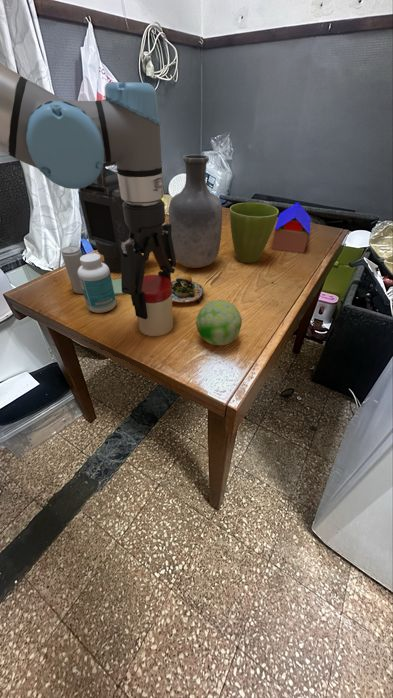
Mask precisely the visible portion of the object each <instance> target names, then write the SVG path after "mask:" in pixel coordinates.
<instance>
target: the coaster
mask: <svg viewBox="0 0 393 698" xmlns="http://www.w3.org/2000/svg"><path fill="white" fill-rule="evenodd" d="M111 280H112V284H113V289H114V294H115V296H120V295H125V294H126V293H123V292H122V285H121V278H116V279H115V278H114V279H111ZM126 295H127V294H126Z"/></svg>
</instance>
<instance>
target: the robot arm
mask: <svg viewBox="0 0 393 698" xmlns="http://www.w3.org/2000/svg"><path fill="white" fill-rule="evenodd" d="M161 143H162V141H161V121H160V114H159V103H158V95H157V91H156V89H155V87H154V86H153V85H152V84H151V83H149V82H135V81H133V82H130V81H129V82H127V81H126V82H125V81H124V82H123V81H122V82H121V81H118V82H117V81H109V82H107V83H106V84H105V86H104V99H100V100H71V99H63V98H62V97H59V96H57V94H54V93H53V92H50V91H49V90H47V89H46V88H43V87H42V86H40V85H38V84H37V83H35V82H33V81H31V80H29V79H27V78H26V77H24V76H22V75H21V74H20V73H18V72H16V71H14V70H13V69H11V68H9V67H7V66H6V65H4V64H2V63H0V152H1V153H3V154H6V155H8V156H10V157H12V158H14V159H16V160H18V161H20V162H22V163H25V164H27V165H29V166H31V167H33V168H35V169H38V171H39V172H40V173H41V174H42V175H43V176H44V177H45V178H47V179H48V180H49V181H51V182H52V183H54V184H55V185H56V186H60V187H61V188H65V189H69V190H78V189H79V190H80V188H84V187H86V186H88V185H90V184H92V183H93V182H94V181H95V180H96V179H97V178H98V176H99V174H100V173H101V170H102V168H103V163H104V162H106V163H108V162H116V165H115V166H116V172H117V173H116V174H118V180H119V187H120V194H121V199H123V200H124V202H123V204H122V206H123V213H124V220H125V223H126V224H127V226H128V227H129V229H130V234H129V239H128V240H127V241H126V242H121V241H120V242H119V243H118V247H119V251H120V254H121V272H120V279H121V285H122V292H123V293H126V295H129V296H130V297H131V298H130V299H131V304H132V306H133V307H134V312H135V313H134V314H135V317H136V318H137V317H140V318H143V319H145V320H146V319H147V318H148V316H147V309H146V301H145V293H144V292H143V291H141V290H142V284H143V278H144V276H145V272H146V265H147V261H149V260H150V254H151V253H152V255H153V256H154V259H155V261H156V263H157V265H158V267H159V269H160V270H159V271H158V272H157V275H161V276H165V277H167V278H169V279H170V280H171V281H172V276H171V274H174V273H175V272H176V269H175V267H177V261H176V259H175V253H174V247H173V242H172V236H171V231H172V225H171V224H169V222H166V208H165V202H164V200H162V199H163V198H164V197H165V196H164V195H165V194H164V181H163V166H162V165H163V163H162V145H161ZM138 252H139V253H142V255H141V254H138ZM135 286H136V287H135Z"/></svg>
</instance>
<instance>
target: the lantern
mask: <svg viewBox="0 0 393 698" xmlns="http://www.w3.org/2000/svg"><path fill="white" fill-rule="evenodd" d="M112 166H117V165H116V162H108V163H106V162H104V163H103V168H102V170H101V173H100V174H99V176H98V178H97V179H96V180H95V181H94V182H93V183H92V184H90V185H88V186H86V187H84V188H79V190H78V191H77V193H78V197H79V201H80V206H81V210H82V214H83V219H84V223H85V227H86V232H87V236H88V239H89V240H91V241H94V242H95V246H96V252H97V254H99V255H100V256H103V261H104V262H103V263H104V264H106V265H107V266H108V267H109V270H110V272H113V273H121V254H120V251H119V247H118V243H119V242H120V241H121V242H126V241H127V240H128V239H129V234H130V229H129V227H128V226H127V224H126V223H125V220H124V213H123V206H122V204H123V202H124V200H123V199H121V194H120V187H119V180H118V173H116V174H112V175H108V176H107V174H106V173H107V171H106V168H109V167H112ZM138 254H141V255H143V253H139V252H138Z"/></svg>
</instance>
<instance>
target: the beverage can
mask: <svg viewBox="0 0 393 698" xmlns="http://www.w3.org/2000/svg"><path fill="white" fill-rule="evenodd" d="M60 251H61V256H62V259H63V263H64V266H65V269H66V272H67V275H68V278H69V281H70V284H71V287H72V291H73V292H74V293H75V294H78V295H84V294H83V290H82V287H81V283H80V280H79V277H78V269H79V267H80V266H82V264H81V262H80V257H81V256H83V254H82V250H81V247H79V246H77V245H68V246H65V247H63V248H61V250H60Z"/></svg>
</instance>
